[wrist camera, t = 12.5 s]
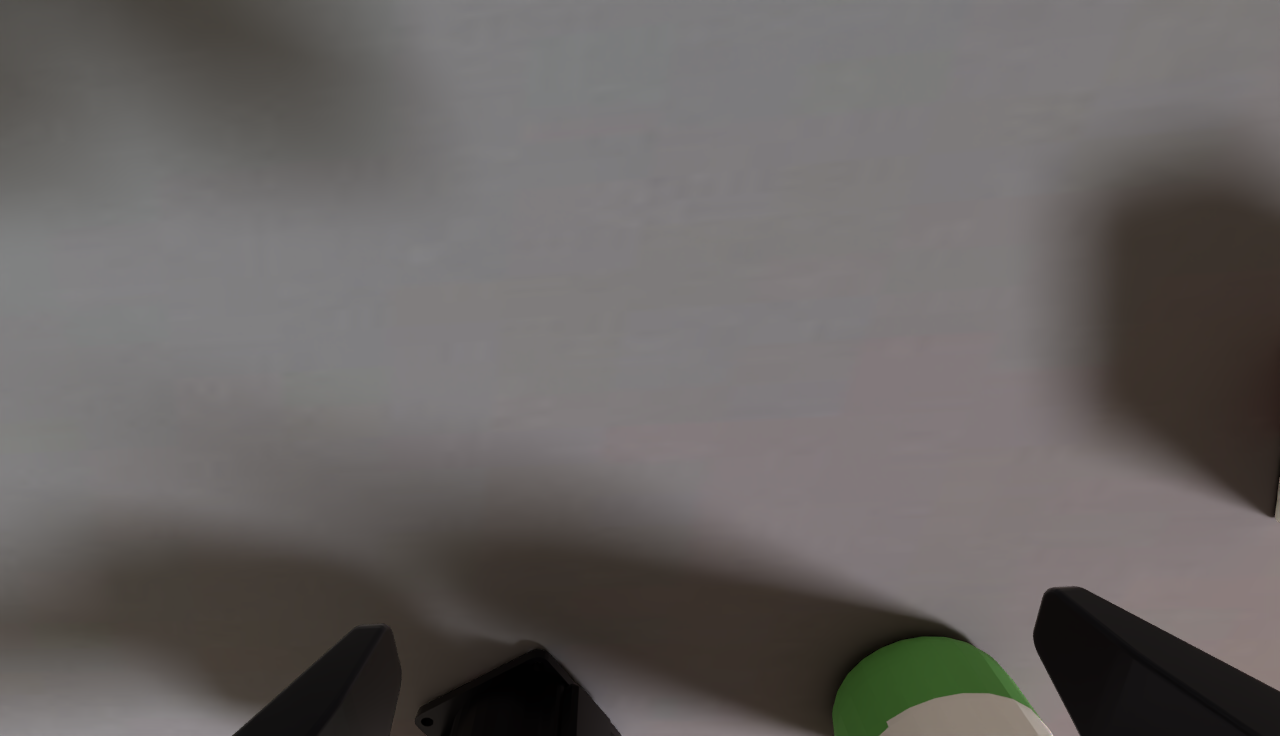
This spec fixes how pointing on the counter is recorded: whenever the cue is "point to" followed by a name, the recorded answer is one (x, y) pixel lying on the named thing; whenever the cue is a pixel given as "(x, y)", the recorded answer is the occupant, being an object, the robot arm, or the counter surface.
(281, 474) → the counter surface
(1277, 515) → the ink box
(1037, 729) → the wine bottle
